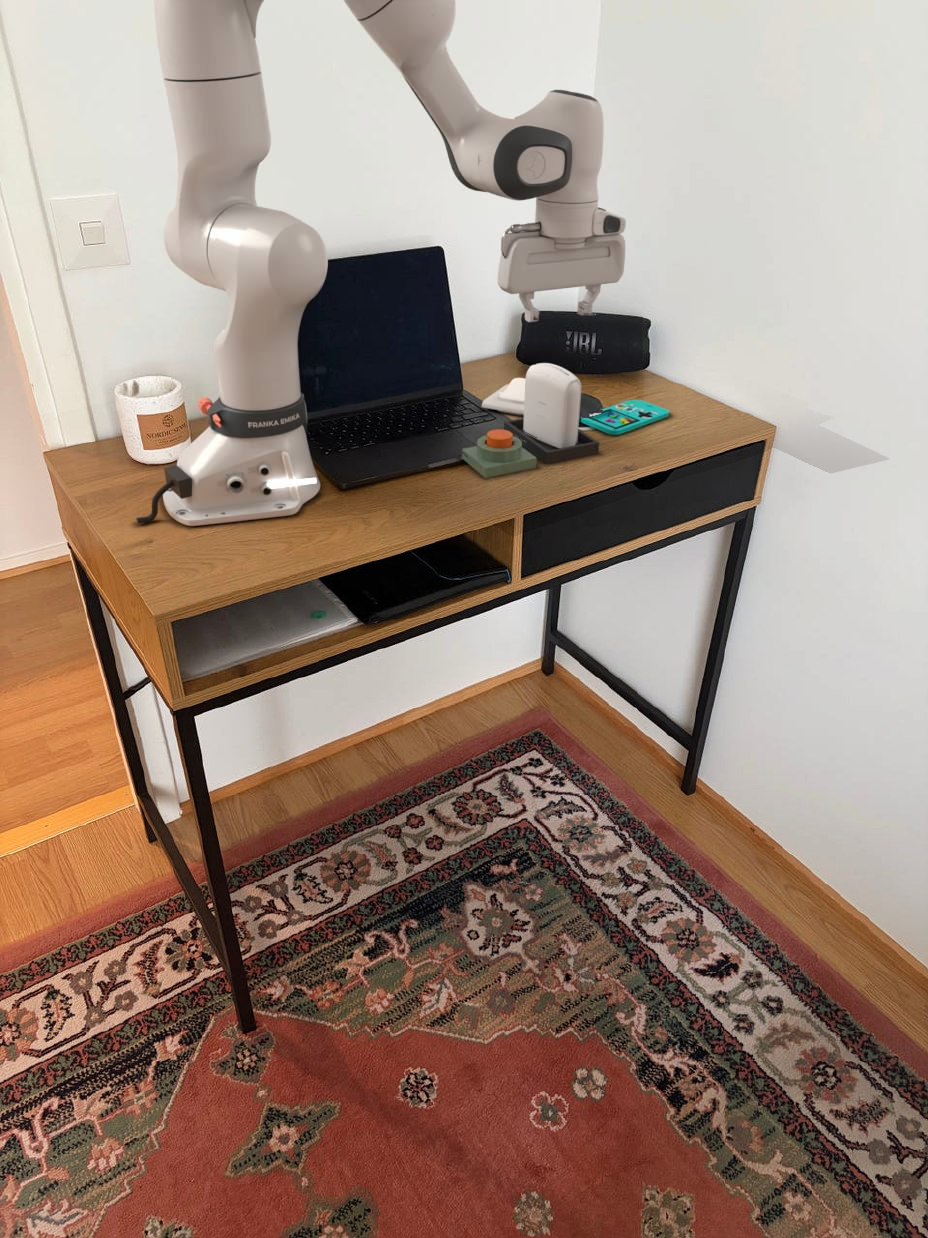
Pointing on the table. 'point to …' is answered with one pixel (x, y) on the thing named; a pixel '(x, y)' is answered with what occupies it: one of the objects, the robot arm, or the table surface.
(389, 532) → the table surface
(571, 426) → the photo printer
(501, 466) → the button housing
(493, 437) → the button
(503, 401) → the light switch
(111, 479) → the table surface
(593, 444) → the tray
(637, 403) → the handheld gaming console
